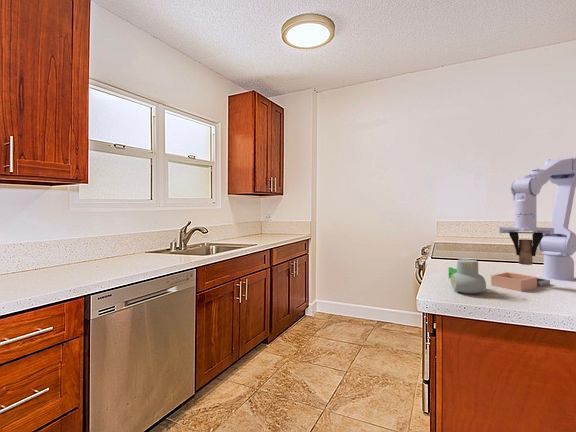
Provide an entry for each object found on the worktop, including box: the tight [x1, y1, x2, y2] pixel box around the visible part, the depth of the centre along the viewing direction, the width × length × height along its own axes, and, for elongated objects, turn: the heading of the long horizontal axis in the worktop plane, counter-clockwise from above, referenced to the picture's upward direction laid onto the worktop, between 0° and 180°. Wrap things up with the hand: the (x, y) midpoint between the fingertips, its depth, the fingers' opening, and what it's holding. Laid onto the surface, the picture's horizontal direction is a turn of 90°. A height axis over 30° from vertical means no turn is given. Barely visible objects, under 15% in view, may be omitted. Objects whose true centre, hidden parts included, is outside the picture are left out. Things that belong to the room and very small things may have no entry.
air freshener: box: [450, 258, 487, 295], centre depth 102 cm, size 11×8×10 cm
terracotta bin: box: [490, 271, 538, 293], centre depth 105 cm, size 9×9×4 cm
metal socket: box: [537, 277, 551, 288], centre depth 108 cm, size 6×6×2 cm
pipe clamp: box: [448, 267, 457, 279], centre depth 115 cm, size 11×4×5 cm, turn 173°
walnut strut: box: [518, 238, 533, 266], centre depth 107 cm, size 4×4×8 cm
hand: (525, 255), depth 107 cm, fingers closed on walnut strut, 4 cm apart
